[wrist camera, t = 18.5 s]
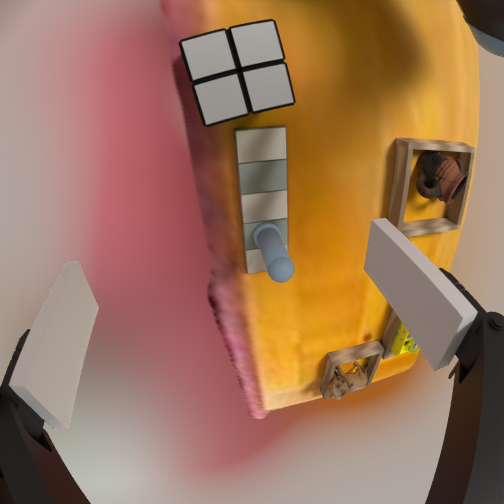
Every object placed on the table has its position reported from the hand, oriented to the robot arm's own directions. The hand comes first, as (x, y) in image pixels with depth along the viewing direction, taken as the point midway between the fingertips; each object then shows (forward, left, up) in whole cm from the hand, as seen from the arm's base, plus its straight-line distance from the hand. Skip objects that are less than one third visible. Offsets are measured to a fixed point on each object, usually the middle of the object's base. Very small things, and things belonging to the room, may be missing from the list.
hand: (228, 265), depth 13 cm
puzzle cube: (-4, -8, -31) cm, 32 cm away
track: (-7, +11, -31) cm, 33 cm away
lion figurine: (-26, +59, -31) cm, 72 cm away
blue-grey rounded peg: (-7, +16, -29) cm, 34 cm away
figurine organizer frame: (-28, +59, -31) cm, 72 cm away
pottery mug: (-38, +8, -31) cm, 50 cm away
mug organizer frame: (-38, +10, -31) cm, 50 cm away
